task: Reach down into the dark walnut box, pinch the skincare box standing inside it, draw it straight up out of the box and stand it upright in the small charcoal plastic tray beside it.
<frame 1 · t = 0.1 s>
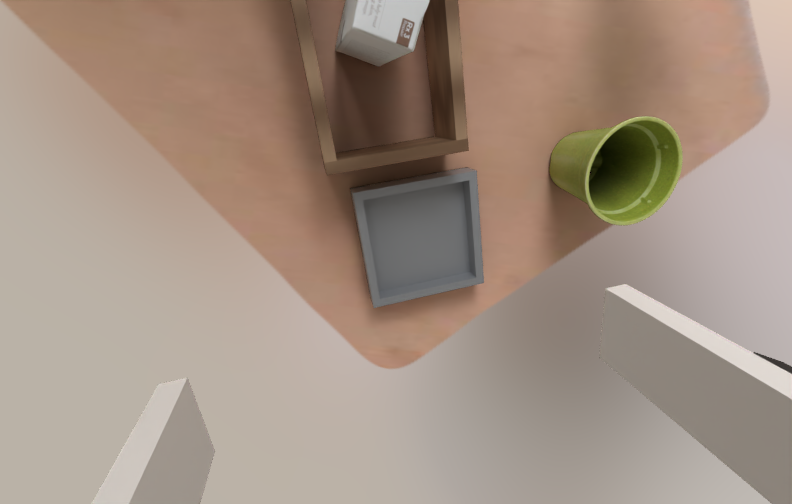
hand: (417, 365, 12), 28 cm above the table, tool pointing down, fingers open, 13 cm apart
plant pot: (572, 161, 42), on the table
charcoal tray: (417, 234, 41), on the table
walnut box: (367, 26, 34), on the table
skincare box: (367, 26, 34), resting in walnut box
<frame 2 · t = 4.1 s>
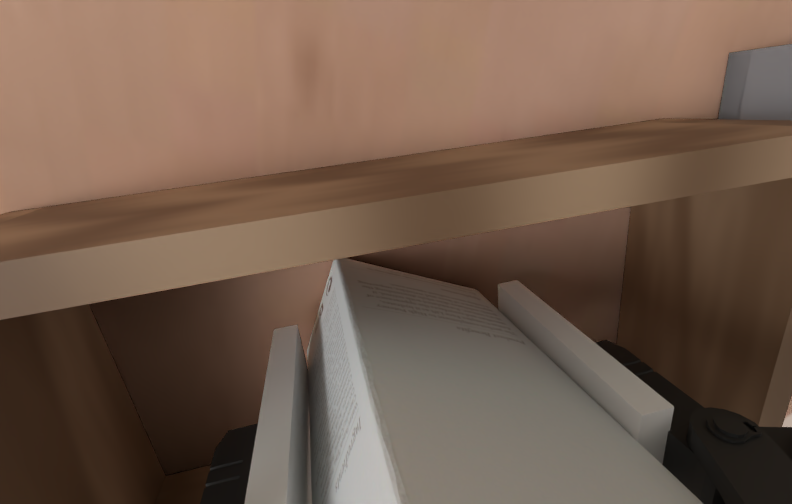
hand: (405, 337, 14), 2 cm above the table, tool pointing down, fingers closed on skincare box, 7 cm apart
walnut box: (397, 315, 15), on the table
skincare box: (396, 313, 15), resting in walnut box, touching gripper
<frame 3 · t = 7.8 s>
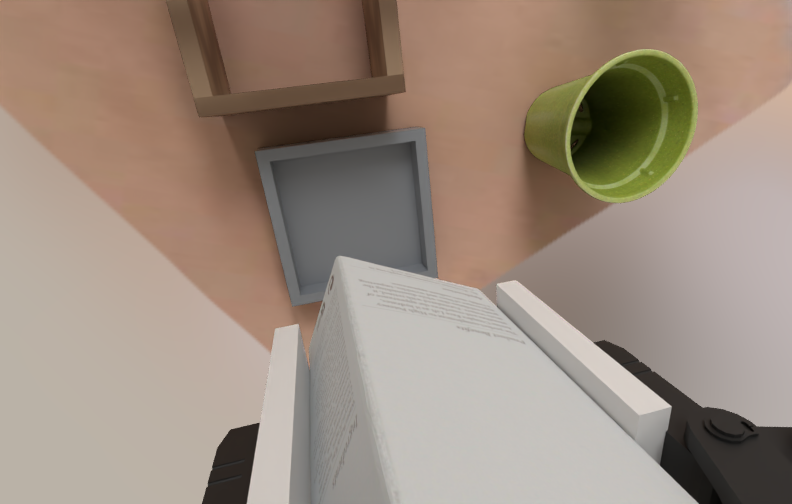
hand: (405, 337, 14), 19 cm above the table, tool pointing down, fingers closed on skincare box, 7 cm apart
plant pot: (553, 126, 33), on the table
charcoal tray: (352, 213, 32), on the table
skincare box: (398, 312, 15), point 18 cm above the table, touching gripper
when the fingers open (4 cm above the table, at t = 11.5 s): skincare box drops 1 cm, resting on charcoal tray.
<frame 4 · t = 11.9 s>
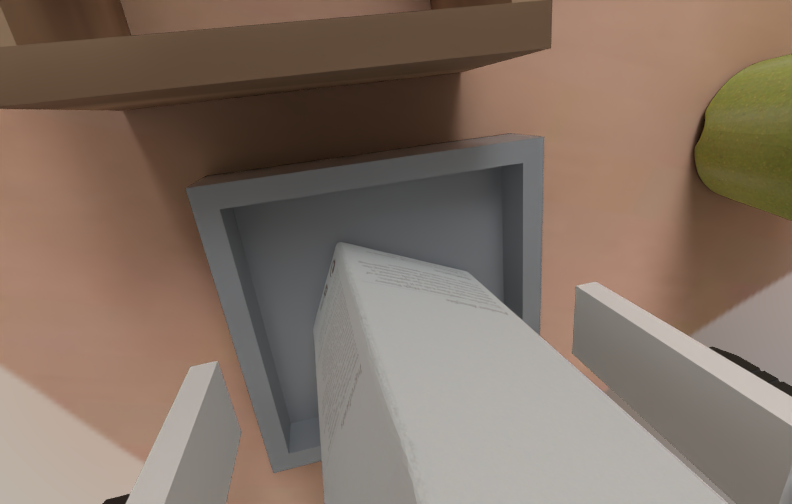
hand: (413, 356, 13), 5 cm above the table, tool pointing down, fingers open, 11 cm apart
plant pot: (741, 132, 19), on the table
charcoal tray: (386, 291, 17), on the table
skincare box: (394, 294, 17), point 1 cm above the table, touching charcoal tray
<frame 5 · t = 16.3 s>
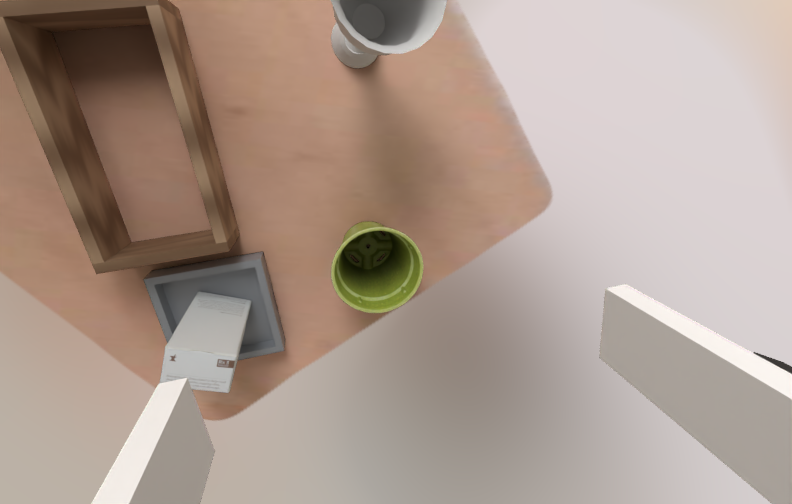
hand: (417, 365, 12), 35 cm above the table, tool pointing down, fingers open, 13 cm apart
plant pot: (366, 244, 48), on the table
chalice: (356, 41, 40), on the table
charcoal tray: (223, 307, 46), on the table
walnut box: (149, 140, 39), on the table
skincare box: (224, 308, 46), point 1 cm above the table, touching charcoal tray
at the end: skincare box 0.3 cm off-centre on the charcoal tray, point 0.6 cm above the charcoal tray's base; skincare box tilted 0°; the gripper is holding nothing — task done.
